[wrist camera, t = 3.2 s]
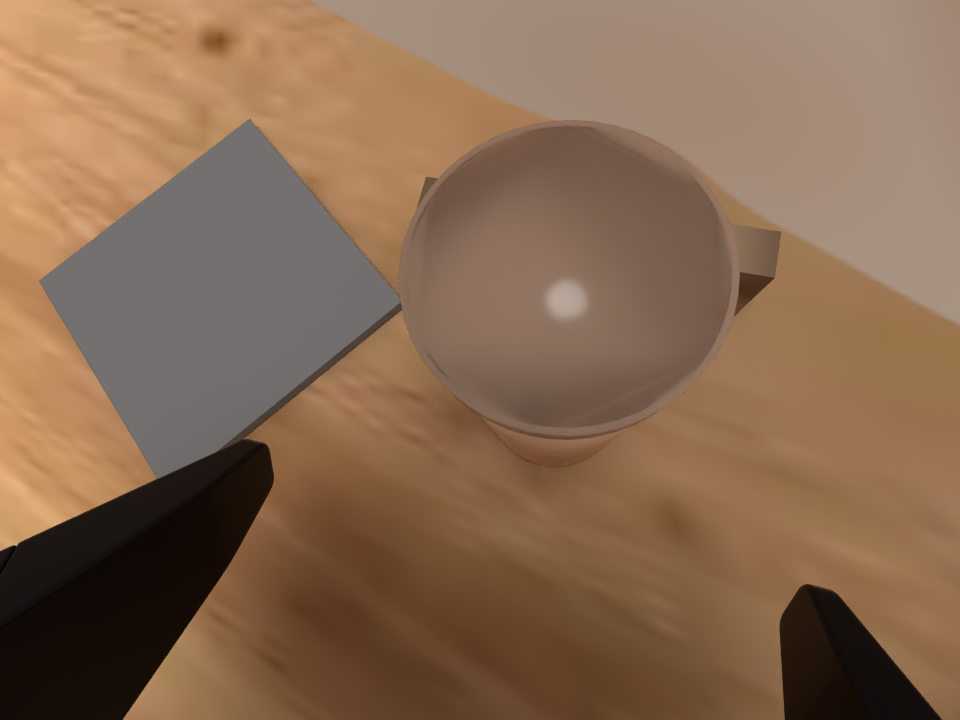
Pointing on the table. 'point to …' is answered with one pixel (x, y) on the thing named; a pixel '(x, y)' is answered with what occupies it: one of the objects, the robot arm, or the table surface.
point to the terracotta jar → (568, 283)
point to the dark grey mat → (217, 301)
